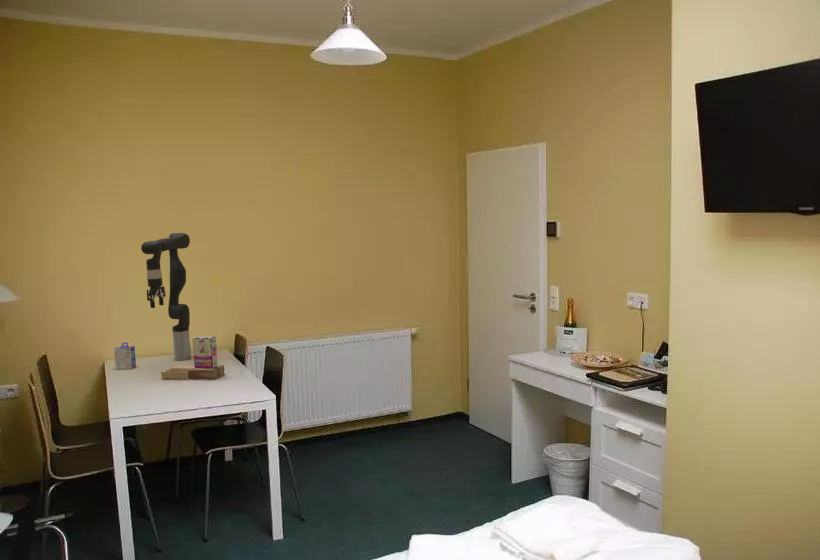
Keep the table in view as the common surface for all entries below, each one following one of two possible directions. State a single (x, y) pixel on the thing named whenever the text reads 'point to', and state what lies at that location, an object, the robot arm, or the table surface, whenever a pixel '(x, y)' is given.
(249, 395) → the table surface
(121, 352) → the ink cartridge box
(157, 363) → the table surface
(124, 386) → the table surface
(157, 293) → the robot arm
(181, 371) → the light wooden frame
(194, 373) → the stand
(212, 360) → the candy bar box
